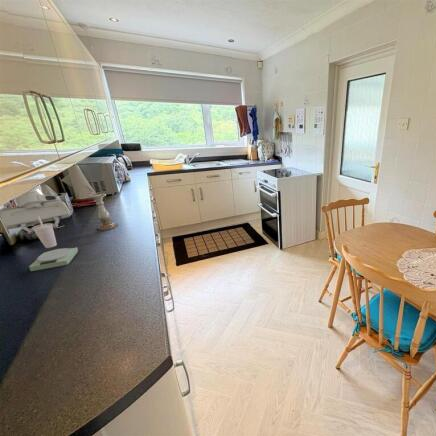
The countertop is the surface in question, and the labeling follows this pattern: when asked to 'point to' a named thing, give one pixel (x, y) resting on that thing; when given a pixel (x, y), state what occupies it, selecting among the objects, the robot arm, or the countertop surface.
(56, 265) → the scale
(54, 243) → the smoothie
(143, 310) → the countertop surface
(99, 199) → the candle holder
